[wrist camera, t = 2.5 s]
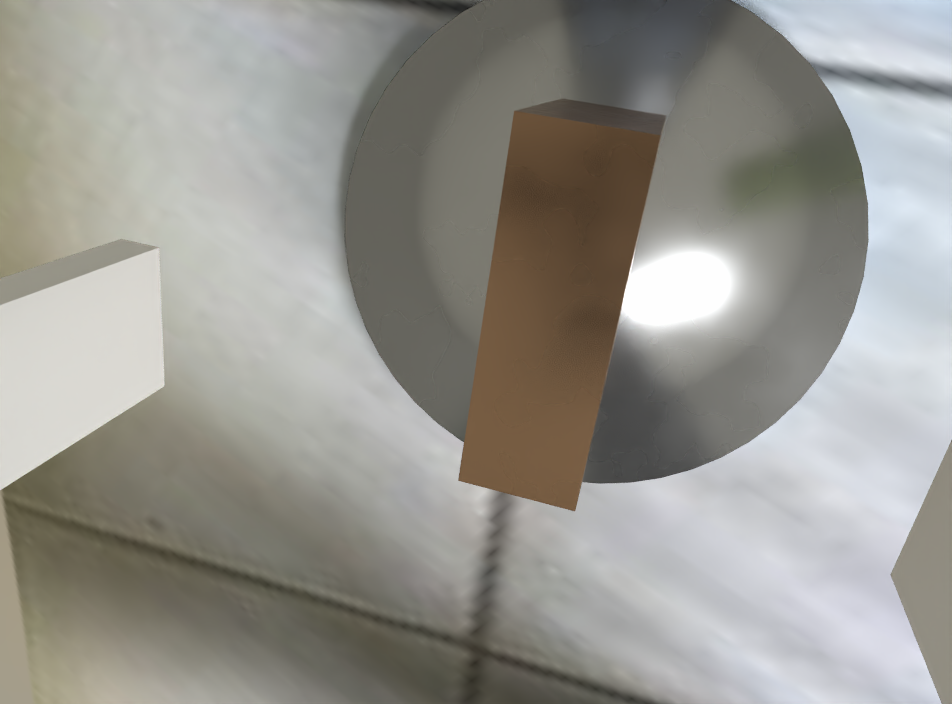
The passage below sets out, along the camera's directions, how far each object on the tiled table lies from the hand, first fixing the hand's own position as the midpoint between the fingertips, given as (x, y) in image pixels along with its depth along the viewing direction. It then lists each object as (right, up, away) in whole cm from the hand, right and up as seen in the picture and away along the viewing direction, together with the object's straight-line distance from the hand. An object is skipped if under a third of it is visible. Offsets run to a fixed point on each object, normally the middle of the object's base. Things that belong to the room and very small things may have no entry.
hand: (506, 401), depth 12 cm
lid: (+3, +4, +12) cm, 13 cm away
